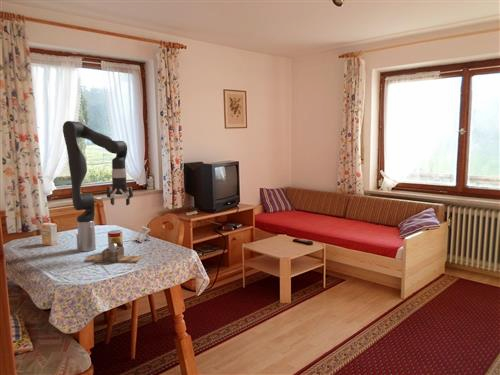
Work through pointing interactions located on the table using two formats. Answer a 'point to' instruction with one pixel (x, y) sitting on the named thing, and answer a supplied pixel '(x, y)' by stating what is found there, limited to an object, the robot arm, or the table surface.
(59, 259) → the table surface
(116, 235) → the canned food
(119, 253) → the hinge
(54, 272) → the table surface
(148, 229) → the portable electronic device stand
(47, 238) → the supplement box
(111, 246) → the hinge pin
